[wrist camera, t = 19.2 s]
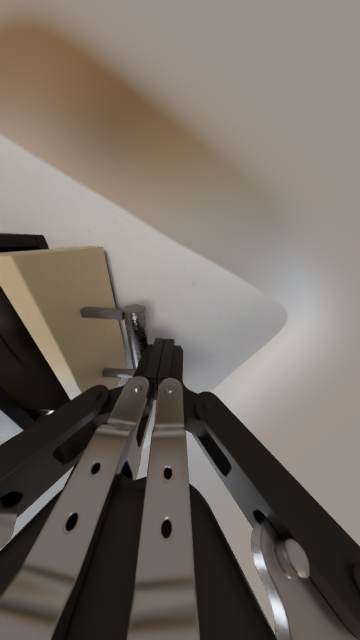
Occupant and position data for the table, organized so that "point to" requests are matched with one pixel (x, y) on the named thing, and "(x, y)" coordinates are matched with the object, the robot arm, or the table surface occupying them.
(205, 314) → the table surface
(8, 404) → the black storage cabinet
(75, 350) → the drawer
